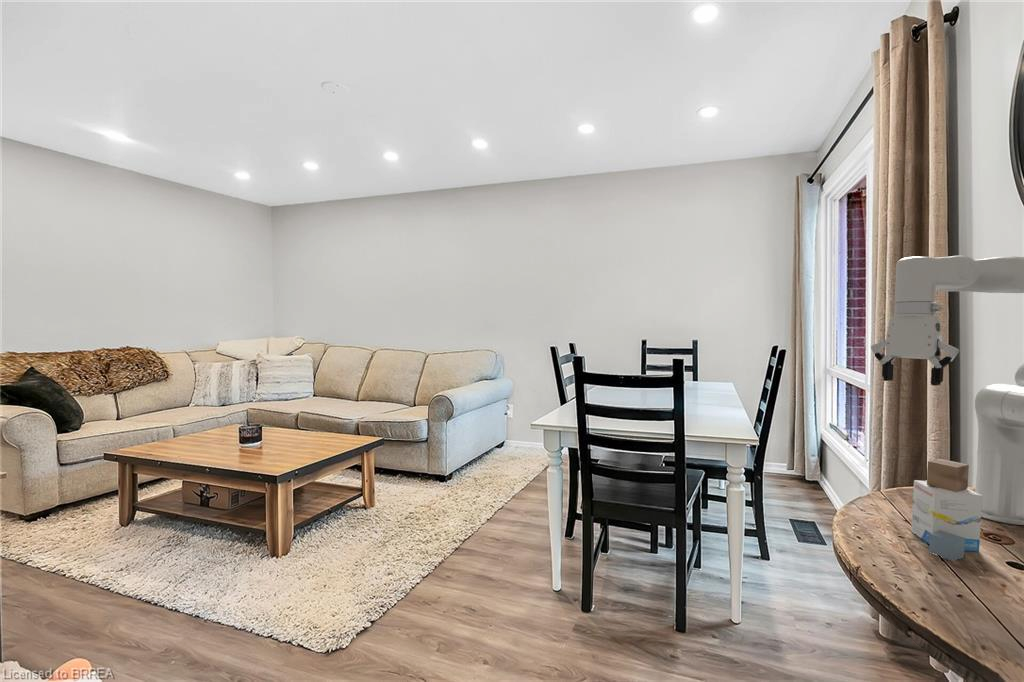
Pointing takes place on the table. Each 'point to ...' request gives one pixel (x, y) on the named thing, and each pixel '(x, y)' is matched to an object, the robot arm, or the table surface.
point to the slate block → (947, 545)
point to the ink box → (946, 513)
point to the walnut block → (947, 475)
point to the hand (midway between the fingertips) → (911, 382)
